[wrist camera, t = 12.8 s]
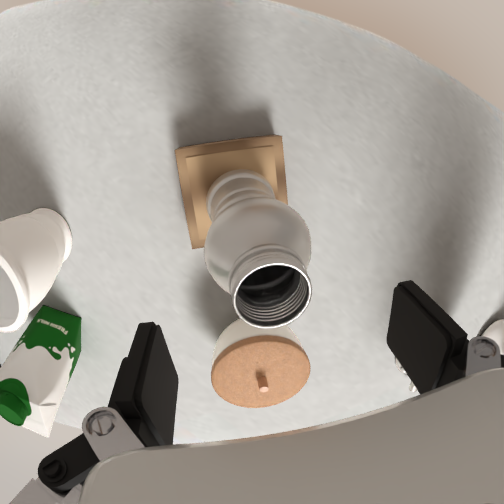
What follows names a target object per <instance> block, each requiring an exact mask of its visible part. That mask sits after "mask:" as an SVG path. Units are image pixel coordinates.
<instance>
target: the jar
mask: <svg viewBox="0 0 504 504" xmlns="http://www.w3.org/2000/svg"><path fill="white" fill-rule="evenodd" d="M71 248H72V235H71V231H70V229H69V226H68V224H67V223H66V221H65V220H64V219H63V217H62V216H61V215H60V214H58V213H57V212H55V211H53V210H51V209H48V208H39V209H36V210H34V211H32V212H31V213H27V214H22V215H19V216H16V217H12V218H9V219H6V220H3V221H1V222H0V332H3V333H11V332H15V331H17V330H18V329H19V328H20V327H21V326H22V325H23V324H24V323H25V321H26V319H27V317H28V314H29V312H30V311H31V310H32V309H34V308H35V307H36V306H37V305H38V304H39V303H40V302H41V301H42V300H43V298H44V297H45V296H46V294H47V293H48V292H49V290H50V288H51V287H52V285H53V283H54V281H55V279H56V276H57V275H58V273H59V271H60V269H61V266H62V264H63V262H64V261H65V260H66V259H67V258H68V256H69V254H70V252H71Z"/></svg>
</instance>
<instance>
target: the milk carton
mask: <svg viewBox="0 0 504 504" xmlns="http://www.w3.org/2000/svg"><path fill="white" fill-rule="evenodd" d="M80 352H81V318H80V317H77V316H74V315H71V314H68V313H65V312H62V311H59V310H56V309H53V308H50V307H48V306H45V305H43V306H42V307H41V309H40V310H39V311H38V313H37V314H36V316H35V317H34V319H33V320H32V321H31V323H30V324H29V326H28V328H27V329H26V330H25V332H24V333H23V335H22V336H21V338H20V339H19V341H18V342H17V344H16V345H15V347H14V348H13V350H12V351H11V353H10V354H9V356H8V357H7V359H6V361H5V362H4V364H3V365H2V367H1V368H0V415H1V416H2V417H3V418H4V419H6V420H7V421H8V422H10V423H12V424H14V425H17V426H22V427H24V428H27V429H29V430H31V431H34V432H36V433H38V434H40V435H43V436H46V437H48V438H49V435H50V432H51V429H52V425H53V422H54V419H55V416H56V413H57V410H58V407H59V405H60V402H61V400H62V397H63V395H64V392H65V390H66V387H67V385H68V382H69V380H70V378H71V375H72V373H73V371H74V368H75V366H76V363H77V360H78V358H79V355H80Z"/></svg>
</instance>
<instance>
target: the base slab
mask: <svg viewBox="0 0 504 504" xmlns="http://www.w3.org/2000/svg"><path fill="white" fill-rule="evenodd" d="M175 154H176V161H177V167H178V173H179V179H180V185H181V191H182V197H183V202H184V208H185V213H186V219H187V224H188V229H189V235H190V240H191V245H192V249H196V248H203V247H204V245H205V240H206V237H207V233H208V230H209V228H210V226H211V224H212V221H211V220H210V218H209V215H208V212H207V209H206V197H207V194H208V191H209V189H210V187H211V185H212V184H213V183H214V181H215V180H216V179H218V178H219V177H220V176H221V175H223V174H225V173H227V172H229V171H232V170H237V169H248V170H252V171H255V172H257V173H259V174H261V175H262V176H263V177H265V178H266V179H267V181H268V182H269V183H270V185H271V187H272V189H273V192H274V195H275V199H277V200H279V201H281V202H283V203H285V204H287V205H288V200H287V188H286V176H285V165H284V154H283V144H282V136H279V135H266V136H256V137H248V138H239V139H231V140H224V141H217V142H210V143H203V144H197V145H191V146H185V147H179V148H178V149H176V150H175Z"/></svg>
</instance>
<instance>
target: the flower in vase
mask: <svg viewBox="0 0 504 504" xmlns="http://www.w3.org/2000/svg"><path fill="white" fill-rule="evenodd" d="M482 336H485V337H488V338H490V339H492V340H494V341H495V342H496V343H497V344H498V346H499V348H500V354H502V355H504V320H497V321H496V322H494V323H493V324H492V325H490V326H489V327H488V328H487V330H486V331H485V332H484V333H483V335H482Z"/></svg>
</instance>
